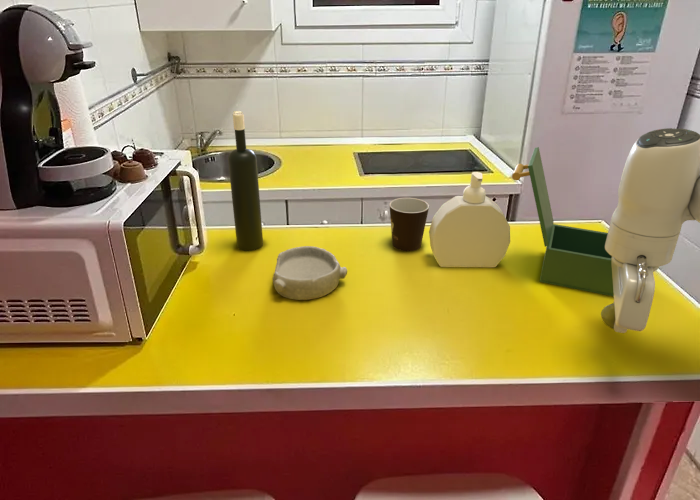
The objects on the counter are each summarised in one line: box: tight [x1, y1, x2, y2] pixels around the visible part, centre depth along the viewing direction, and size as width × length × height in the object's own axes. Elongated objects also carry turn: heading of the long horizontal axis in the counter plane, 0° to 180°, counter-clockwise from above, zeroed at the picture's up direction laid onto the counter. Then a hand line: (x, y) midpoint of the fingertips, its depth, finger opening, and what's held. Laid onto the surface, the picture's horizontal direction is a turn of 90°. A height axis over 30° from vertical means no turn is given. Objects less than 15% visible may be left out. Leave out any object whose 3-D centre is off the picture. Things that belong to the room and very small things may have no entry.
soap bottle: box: [428, 171, 511, 268], centre depth 106 cm, size 16×5×20 cm, turn 90°
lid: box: [511, 146, 555, 247], centre depth 103 cm, size 16×13×5 cm
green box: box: [539, 223, 614, 298], centre depth 104 cm, size 16×13×8 cm
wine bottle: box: [227, 110, 264, 252], centre depth 109 cm, size 6×6×30 cm
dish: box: [272, 245, 348, 301], centre depth 101 cm, size 14×14×5 cm
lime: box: [600, 302, 615, 330], centre depth 82 cm, size 4×5×5 cm
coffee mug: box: [388, 197, 430, 252], centre depth 116 cm, size 12×9×10 cm
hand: (618, 321), depth 82 cm, fingers closed on lime, 3 cm apart
